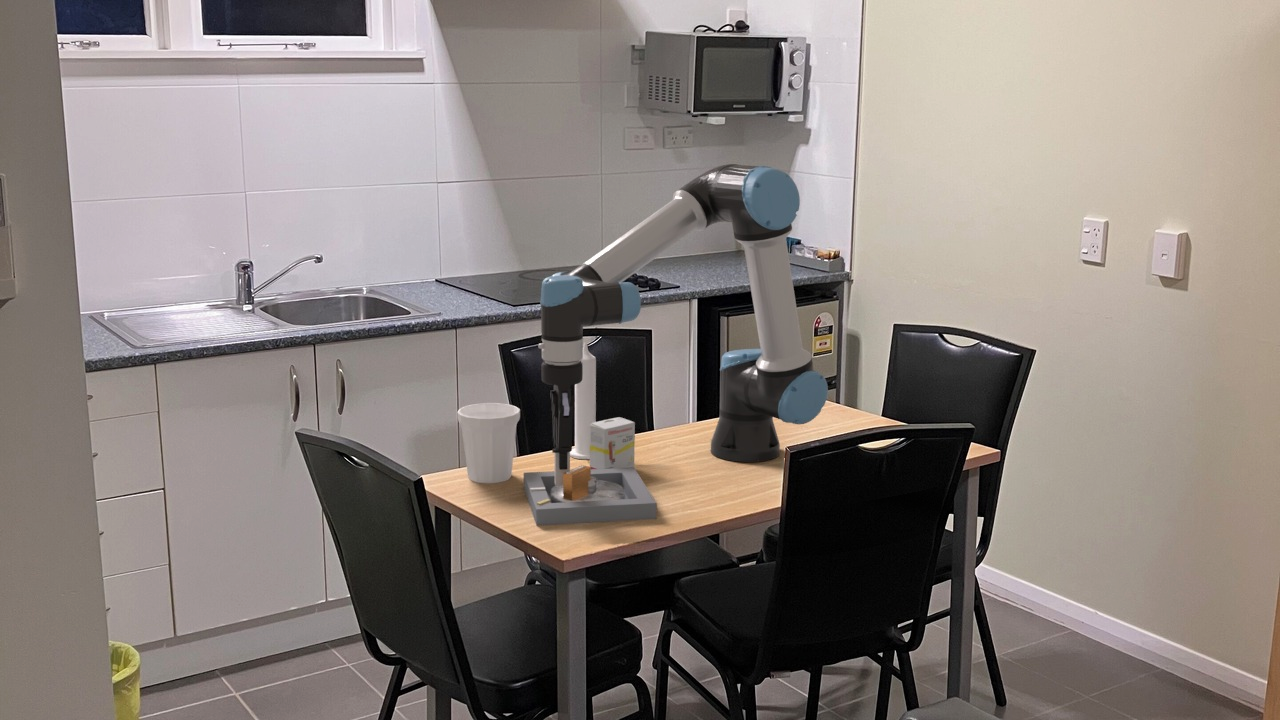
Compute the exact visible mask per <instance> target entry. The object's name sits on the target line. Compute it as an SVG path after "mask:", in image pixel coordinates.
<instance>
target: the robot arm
mask: <svg viewBox="0 0 1280 720" xmlns="http://www.w3.org/2000/svg"><path fill="white" fill-rule="evenodd" d="M800 203H801V200H800V191H799V189H798V187H797V184H796V182H795V181H794V179H793V178H792V177H791V176H790V175H789V174H787V173H786V172H784V171H783V170H781V169H778V168H773V167H771V166H765V165H761V166H758V165H744V164H743V165H742V164H736V163H728V164H726V163H725V164H721V165H719V166H716V167H713V168H711V169H709V170H707V171H705V172H704V173H702V174H700V175H698V176H696V177H695V178H693V179H692V180H690V181H689V182H687V183H686V184H684V185H683V186H682V187H680V188H679V189H677V190H676V191H674V193H673V194H672V199H671V201H669V202H668V203H666V204H665V205H663V206H662V207H660V208H659V209H658V210H656V211H654V213H652V214H651V215H649V216H648V217H646V218H645V219H644V220H642V221H641V222H640V223H638V224H637V225H635V226H634V227H632V228H631V229H630V230H628V231H627V232H625V233H624V234H623V235H621V236H620V237H618V238H617V239H616V240H614V241H612V242H611V243H610V244H609V245H607V246H605V247H604V248H603V249H601V250H600V251H598V252H597V253H596V254H594V255H592V256H591V257H590V258H589V259H588V260H586V261H585V262H583V263H582V264H580V265H579V266H577V267H576V268H574V269H573V270H572V271H571V270H570V272H569V271H559V272H556V273H554V274H552V275H550V276H547V277H546V278H544V279H543V280H542V282H541V289H540V291H541V292H540V301H539V304H540V314H541V315H540V321H541V324H540V325H541V328H540V329H541V333H540V334H541V341H542V342H540V343H538V347H537V348H538V349H541V359H542V360H543V361H542V363H541V365H540V366H541V381H542V383H544V384H547V385H549V386H553V390H550V400H551V412H552V413H551V414H552V415H551V416H552V417H551V418H552V442H553V447H554V448H552V449H551V451H552V454H554V457H553V458H554V471H555V486H559V485H563V473H565V472H567V471H570V470H571V456H570V452H571V451H572V449H573V445H572V443H573V441H572V439H573V419H574V411H575V406H574V403H575V392H573V390H572V389H571V386H573V385H575V384H578V383H580V382H581V381H582V379H583V364H582V363H581V361H580V360H581V359H583V346H584V337H583V335H584V334H583V330H584V328H585V327H592V326H593V327H594V326H602V325H603V326H604V325H613V324H619V325H621V324H624V323H626V322H628V323H629V322H632V321H634V320H636V319H637V317H639V314H640V311H641V308H642V305H641V303H642V297H641V293H640V292H639V289H638V288H637V287H638V286H636V285H635V284H634V283H632V282H630V281H627V282H626V280H627V279H628V278H630V277H631V276H633V275H634V274H636V273H637V272H638V271H639V270H641V269H643V268H644V267H645V266H646V265H648V264H650V263H651V262H652V261H653V260H655V259H657V258H658V257H659V256H660V255H662V254H663V253H665V252H666V251H667V250H669V249H670V248H672V247H673V246H674V245H676V244H677V243H678V242H680V241H681V240H682V239H684V238H686V237H687V236H688V235H689V234H691V233H693V232H702V231H704V230H705V229H707V228H708V227H710V226H712V225H713V224H718V223H723V222H724V223H725V222H726V223H731V225H732V231H733V232H732V233H733V236H734V237H733V238H734V240H735V241H737V243H739V244H741V245H742V246H743V249H744V256H745V261H746V268H747V269H746V270H747V274H748V279H749V286H750V292H751V298H752V304H753V310H754V311H753V312H754V317H755V322H756V328H757V329H756V330H757V334H758V340H759V341H758V342H759V346H760V348H745V349H734V350H729V351H727V352H724V354H723V355H722V356H721V362H720V368H719V371H720V372H719V375H720V376H719V419H718V421H717V424H716V427H715V429H714V433H713V436H712V438H711V442H710V453H711V454H712V455H713V456H714V457H717V458H719V459H721V460H722V459H723V460H727V461H731V462H740V463H741V462H745V463H755V462H756V463H757V462H765V461H771V460H773V459H776V458H777V457H779V456H780V453H781V452H780V450H781V449H780V447H781V446H780V440H779V438H778V437H779V436H778V433H777V430H776V427H775V423H774V420H773V419H778V420H780V421H781V422H784V423H787V424H794V425H805V424H807V423H809V422H811V421H813V420H814V419H815V418H816V417H817V416H818V415H819V414H820V413H821V411H822V409H823V407H825V404H826V403H827V399H828V393H829V392H828V391H829V389H828V382H827V380H826V378H825V376H823V374H821V373H820V372H819V371H817V370H815V368H814V363H813V357H812V353H811V352H810V351H808V350H807V349H805V348H804V346H803V340H802V333H801V328H800V327H801V326H800V322H799V314H798V308H797V303H796V302H797V301H796V295H795V290H794V289H795V288H794V282H793V276H792V269H791V263H790V257H789V249H788V244H787V238H788V236H789V235H790V234H791V233H792V231H793V225H792V223H793V222H794V221H795V220H796V217H797V216H798V215H797V212H799V210H800V206H801V205H800Z"/></svg>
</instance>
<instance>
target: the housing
mask: <svg viewBox="0 0 1280 720" xmlns="http://www.w3.org/2000/svg"><path fill="white" fill-rule="evenodd" d="M591 476H592V477H595V478H596V480H603V481H609V482H613V483H616V484H618V485H620V486H622V487H623V488H624V490H625V499H620V500H601V501H582V502H563V503H551V489H552V488H553V487H554V486H555V470H553V471H552V470H551V471H550V470H549V471H534V472H523V490H524V492H525V495H526V499H527V500H528V501H527V503H528V505H529V507H530V511H531V513H532V516H533V519H534V521H535V526H552V525H555V526H556V525H568V524H569V525H571V524H572V525H573V524H587V523H588V524H589V523H590V524H591V523H607V522H622V521H623V522H625V521H626V522H628V521H639V520H640V521H641V520H642V521H643V520H657V516H658V515H657V512H658V511H657V509H658V505H657V501H656V499H655V498H654V497H653V495H652V493H651V492H650V490H649V489H648V487H647V485H646V484H645V483H644V482H645V481H643V479H642V478H641V476H640V474H639V473H638V471H637V470H636V468H635V466H634V467H632V468H611V469H591Z"/></svg>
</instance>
